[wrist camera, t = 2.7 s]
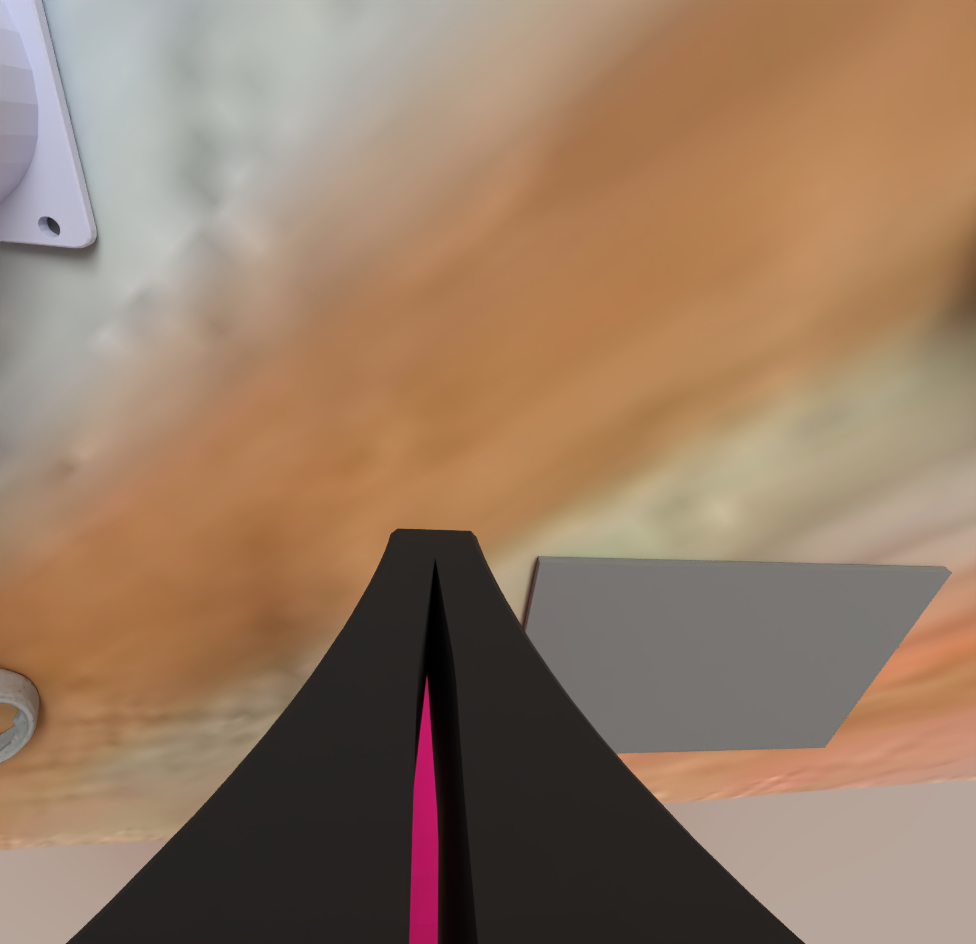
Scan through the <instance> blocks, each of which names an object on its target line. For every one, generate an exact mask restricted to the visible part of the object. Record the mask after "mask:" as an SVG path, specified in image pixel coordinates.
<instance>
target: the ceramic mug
mask: <svg viewBox="0 0 976 944" xmlns="http://www.w3.org/2000/svg"><path fill="white" fill-rule="evenodd" d="M0 703H4V704H10V705H11V706H14V707H17V708H18V712H17V713H16V715H15V716H14V718H13V722H14V724H15V725H14V726H13V727H11V728H10V729H8V730H7V731H5V732H3V733H1V734H0V763H1V762H3V761H5V760H7V759H9V758H11V757H12V756H14V755H15V754H16V753H17V752H18V751H19V750H21V749H22V748H23V747H24V746H25V745H26V743H27V742H28V741H29V740H30V739H31V737H32V735H33V734H34V732H35V729H36V725H37V718H38V710H39V705H40V702H39V695H38V692H37V690H36V688H35V686H34V684H33V683H32V682H31V681H30V680H28V679H27V678H26V677H24V676H21V675H19V674H18V673H15V672H11V671H8V670H4V669H0Z"/></svg>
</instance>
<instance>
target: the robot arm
mask: <svg viewBox="0 0 976 944" xmlns="http://www.w3.org/2000/svg"><path fill="white" fill-rule="evenodd" d="M48 217H50V218H53V219H54V220H55V221H56V222H57V223H58V225H59V227H60V234H59V235H57V234H55V233H54V232H52V231H51V230H50V229H49V227H48V225H47V218H48ZM96 237H97V230H96V225H95V221H94V217H93V213H92V209H91V204H90V200H89V196H88V192H87V188H86V184H85V179H84V175H83V171H82V167H81V163H80V158H79V154H78V150H77V146H76V142H75V138H74V133H73V129H72V125H71V121H70V117H69V113H68V108H67V104H66V100H65V96H64V92H63V87H62V83H61V79H60V75H59V71H58V67H57V62H56V58H55V54H54V50H53V46H52V42H51V37H50V33H49V29H48V25H47V21H46V16H45V12H44V8H43V4H42V0H0V241H3V242H13V243H24V244H34V245H45V246H55V247H66V248H84V247H87V246H89V245H91V244H92V243H94V242H95V239H96ZM426 679H427V680H428V695H429V709H430V722H431V736H432V750H433V763H434V777H435V790H436V804H437V824H438V944H805V943H804V942H803V941H802V940H800V939H799V938H798V937H797V936H796V935H795V934H794V933H792V931H790V930H789V929H788V928H787V927H786V926H785V925H784V924H783V923H782V922H781V921H780V920H779V919H777V918H776V917H775V916H774V915H773V914H772V913H771V912H770V911H769V910H768V909H767V908H765V907H764V906H763V905H762V904H761V903H760V902H759V901H758V900H757V899H756V898H755V897H754V896H753V895H751V894H750V893H749V892H748V891H747V890H746V889H745V888H744V887H743V886H742V885H741V884H740V883H739V882H738V881H737V880H736V879H735V878H734V877H733V876H732V875H731V874H730V873H729V872H728V871H727V870H726V869H725V868H724V867H723V866H722V865H721V864H720V863H719V862H718V861H717V860H716V859H714V858H713V857H712V856H711V855H710V854H709V853H708V852H707V851H706V850H705V849H704V848H703V847H702V846H701V845H700V844H699V843H698V842H697V841H696V840H695V839H694V838H693V837H692V836H691V835H690V834H689V833H688V831H687V830H686V829H685V828H683V826H682V825H681V824H680V823H679V822H678V821H677V820H676V819H675V818H674V817H673V815H671V814H670V812H669V811H668V810H667V809H666V808H665V807H664V806H663V805H662V804H661V803H660V802H659V801H658V800H657V798H656V797H655V796H654V795H653V794H652V793H651V792H650V791H649V790H648V789H647V788H646V787H645V786H644V785H643V784H642V783H641V781H640V780H639V779H638V778H637V777H636V776H635V775H634V774H633V773H632V772H631V771H630V770H629V769H628V767H627V766H626V765H625V764H624V763H623V762H622V760H621V759H620V758H619V757H618V756H617V755H616V753H615V752H614V751H613V750H612V749H611V747H610V746H609V745H608V744H607V743H606V742H605V740H604V739H603V738H602V737H601V736H600V734H599V733H598V732H597V731H596V730H595V728H594V727H593V726H592V725H591V723H590V722H589V721H588V720H587V718H586V717H585V716H584V715H583V713H582V712H581V711H580V709H579V708H578V707H577V706H576V704H575V703H574V702H573V700H572V699H571V698H570V696H569V695H568V694H567V692H566V691H565V690H564V688H563V687H562V686H561V684H560V683H559V681H558V680H557V679H556V677H555V676H554V675H553V673H552V672H551V670H550V669H549V667H548V666H547V664H546V663H545V661H544V660H543V658H542V657H541V655H540V654H539V653H538V651H537V650H536V648H535V647H534V645H533V643H532V642H531V640H530V639H529V637H528V636H527V634H526V632H525V631H524V629H523V628H522V626H521V624H520V623H519V621H518V619H517V617H516V616H515V614H514V612H513V611H512V609H511V607H510V606H509V604H508V602H507V601H506V599H505V597H504V595H503V593H502V591H501V590H500V588H499V586H498V584H497V582H496V580H495V578H494V576H493V574H492V572H491V570H490V568H489V566H488V564H487V562H486V560H485V557H484V555H483V553H482V550H481V548H480V546H479V543H478V540H477V537H476V536H475V535H474V534H473V533H472V532H471V531H455V530H425V529H397V530H395V531H394V532H393V533H391V535H390V538H389V542H388V544H387V547H386V550H385V552H384V554H383V557H382V559H381V561H380V563H379V565H378V568H377V570H376V571H375V573H374V575H373V577H372V579H371V581H370V583H369V585H368V587H367V589H366V590H365V592H364V594H363V596H362V597H361V599H360V601H359V602H358V604H357V606H356V608H355V609H354V611H353V613H352V615H351V616H350V618H349V620H348V621H347V623H346V624H345V626H344V628H343V629H342V631H341V632H340V634H339V635H338V637H337V638H336V640H335V641H334V643H333V644H332V645H331V647H330V648H329V650H328V651H327V653H326V654H325V656H324V657H323V659H322V660H321V662H320V663H319V665H318V666H317V668H316V669H315V671H314V672H313V673H312V675H311V676H310V677H309V679H308V680H307V682H306V683H305V684H304V686H303V687H302V688H301V690H300V691H299V692H298V694H297V695H296V696H295V698H294V699H293V700H292V702H291V703H290V704H289V705H288V707H287V708H286V709H285V710H284V712H283V713H282V714H281V715H280V717H279V718H278V719H277V720H276V722H275V723H274V724H273V725H272V727H271V728H270V729H269V730H268V732H267V733H266V734H265V735H264V736H263V738H262V739H261V740H260V741H259V742H258V743H257V745H256V746H255V747H254V748H253V749H252V750H251V752H250V753H249V754H248V755H247V756H246V757H245V759H244V760H243V761H242V762H241V763H240V764H239V766H238V767H237V768H236V769H235V770H234V771H233V773H232V774H231V775H230V776H229V777H228V778H227V780H226V781H225V782H224V783H223V784H222V785H221V786H220V787H219V788H218V790H217V791H216V792H215V793H214V794H213V795H212V796H211V797H210V798H209V800H208V801H207V802H206V803H205V804H204V805H203V806H202V807H201V808H200V809H199V810H198V811H197V813H196V814H195V815H194V816H193V817H192V818H191V819H190V820H189V821H188V822H187V823H186V824H185V825H184V826H183V827H182V828H181V829H180V830H179V831H178V832H177V833H176V834H175V835H174V836H173V837H172V838H171V839H170V840H169V841H168V842H167V844H166V845H165V846H164V847H163V848H162V849H161V850H160V851H159V852H158V853H157V854H156V855H155V856H154V857H153V858H152V859H151V860H150V861H149V862H148V863H147V864H146V865H145V866H144V867H143V868H142V869H141V870H140V871H139V872H138V873H137V874H136V875H135V876H134V878H132V879H131V880H130V881H129V883H127V884H126V886H125V887H124V888H123V889H122V890H121V891H120V892H119V893H118V894H117V895H116V896H115V897H114V898H113V899H112V900H111V901H110V902H109V903H108V904H107V905H106V906H105V907H104V908H103V909H102V910H101V911H100V912H99V913H98V914H97V915H95V916H94V917H93V918H92V919H91V920H90V921H89V922H88V923H87V924H86V925H85V926H84V927H83V928H82V929H81V930H80V931H79V932H78V933H77V934H76V935H75V936H74V937H73V938H71V939H70V940H69V941H68V942H67V943H66V944H409V936H410V900H411V865H412V830H413V797H414V781H415V772H416V764H417V755H418V747H419V739H420V730H421V722H422V713H423V705H424V696H425V688H426Z"/></svg>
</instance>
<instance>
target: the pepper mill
mask: <svg viewBox="0 0 976 944" xmlns="http://www.w3.org/2000/svg"><path fill="white" fill-rule="evenodd" d="M409 944H438V824H437V804H436V790H435V777H434V763H433V750H432V736H431V722H430V709H429V695H428V680H427V679H426V688H425V696H424V705H423V713H422V722H421V730H420V739H419V747H418V755H417V764H416V772H415V781H414V797H413V830H412V865H411V900H410V936H409Z"/></svg>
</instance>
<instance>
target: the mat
mask: <svg viewBox="0 0 976 944" xmlns="http://www.w3.org/2000/svg"><path fill="white" fill-rule="evenodd" d="M951 573H952V572H951V571H949V570H948V569H947V568H946V567H929V566H889V565H850V564H810V563H771V562H731V561H692V560H652V559H613V558H573V557H538V561H537V566H536V571H535V575H534V580H533V585H532V590H531V595H530V600H529V605H528V609H527V614H526V619H525V624H524V631H525V632H526V634H527V636H528V637H529V639H530V640H531V642H532V643H533V645H534V647H535V648H536V650H537V651H538V653H539V654H540V655H541V657H542V658H543V660H544V661H545V663H546V664H547V666H548V667H549V669H550V670H551V672H552V673H553V675H554V676H555V677H556V679H557V680H558V681H559V683H560V684H561V686H562V687H563V688H564V690H565V691H566V692H567V694H568V695H569V696H570V698H571V699H572V700H573V702H574V703H575V704H576V706H577V707H578V708H579V709H580V711H581V712H582V713H583V715H584V716H585V717H586V718H587V720H588V721H589V722H590V723H591V725H592V726H593V727H594V728H595V730H596V731H597V732H598V733H599V734H600V736H601V737H602V738H603V739H604V740H605V742H606V743H607V744H608V745H609V746H610V747H611V749H612V750H613V751H614V752H615V753H649V752H685V751H721V750H758V749H794V748H825V747H826V745H827V744H828V742H829V741H830V740H831V738H832V737H833V735H834V734H835V733H836V731H837V730H838V729H839V727H840V726H841V724H842V723H843V722H844V720H845V719H846V718H847V716H848V715H849V713H850V712H851V711H852V709H853V708H854V707H855V705H856V704H857V702H858V701H859V700H860V698H861V697H862V696H863V694H864V693H865V691H866V690H867V689H868V687H869V686H870V685H871V683H872V682H873V680H874V679H875V678H876V676H877V675H878V674H879V672H880V671H881V669H882V668H883V667H884V665H885V664H886V663H887V661H888V660H889V658H890V657H891V656H892V654H893V653H894V652H895V650H896V649H897V647H898V646H899V645H900V643H901V642H902V641H903V639H904V638H905V636H906V635H907V634H908V632H909V631H910V630H911V628H912V627H913V625H914V624H915V623H916V621H917V620H918V619H919V617H920V616H921V614H922V613H923V612H924V610H925V609H926V608H927V606H928V605H929V603H930V602H931V601H932V599H933V598H934V597H935V595H936V594H937V592H938V591H939V590H940V588H941V587H942V585H943V584H944V583H945V581H946V580H947V579H948V577H949V576H950V574H951Z"/></svg>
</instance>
